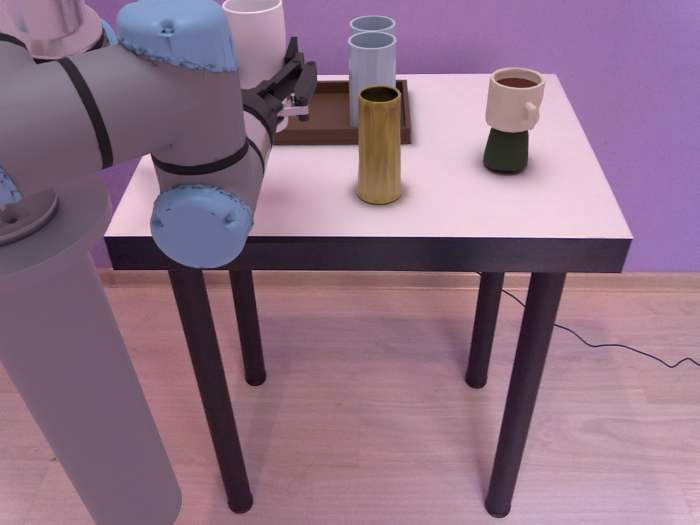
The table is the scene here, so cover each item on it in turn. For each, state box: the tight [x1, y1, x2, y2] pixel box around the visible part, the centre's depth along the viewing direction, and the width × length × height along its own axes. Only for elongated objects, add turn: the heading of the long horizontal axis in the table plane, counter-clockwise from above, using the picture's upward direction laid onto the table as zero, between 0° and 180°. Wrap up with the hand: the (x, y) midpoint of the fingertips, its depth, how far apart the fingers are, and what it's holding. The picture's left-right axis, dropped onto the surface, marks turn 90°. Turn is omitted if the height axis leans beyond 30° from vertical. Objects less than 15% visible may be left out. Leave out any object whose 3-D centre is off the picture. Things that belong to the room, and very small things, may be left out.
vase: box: [356, 85, 403, 205], centre depth 80 cm, size 6×6×14 cm
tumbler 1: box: [349, 14, 396, 38], centre depth 100 cm, size 7×7×14 cm
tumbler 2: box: [347, 31, 398, 127], centre depth 94 cm, size 7×7×14 cm
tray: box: [272, 79, 412, 146], centre depth 101 cm, size 26×18×3 cm
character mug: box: [482, 66, 546, 172], centre depth 85 cm, size 11×7×13 cm, turn 15°
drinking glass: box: [221, 0, 288, 133], centre depth 73 cm, size 7×7×15 cm
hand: (266, 48), depth 76 cm, fingers closed on drinking glass, 6 cm apart
